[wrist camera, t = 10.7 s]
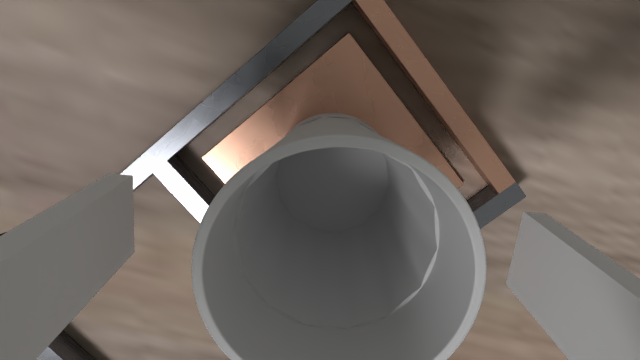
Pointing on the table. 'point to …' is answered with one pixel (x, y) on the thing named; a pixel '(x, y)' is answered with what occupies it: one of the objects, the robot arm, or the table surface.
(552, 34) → the table surface
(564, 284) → the robot arm
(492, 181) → the two-slot metal tray
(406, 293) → the cup
